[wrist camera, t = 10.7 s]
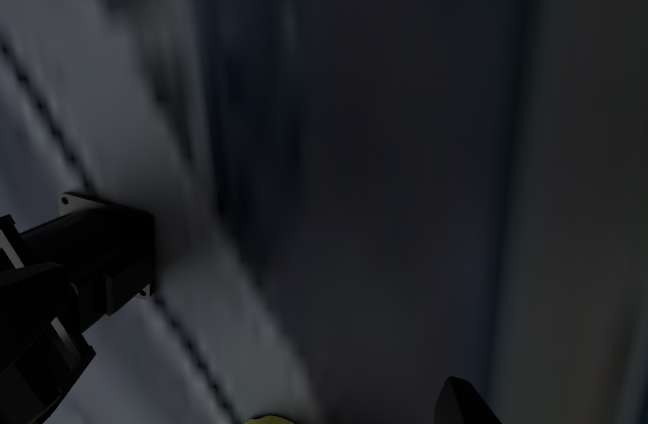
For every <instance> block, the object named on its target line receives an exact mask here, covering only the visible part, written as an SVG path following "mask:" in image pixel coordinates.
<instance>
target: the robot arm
mask: <svg viewBox="0 0 648 424" xmlns="http://www.w3.org/2000/svg"><path fill="white" fill-rule="evenodd" d="M67 199H68V200H67ZM58 204H59V214H60V217H58V218H56V219H53V220H51V221H48V222H46V223H43V224H41V225H39V226H36V227H34V228H31V229H29V230H26V231H24V232H22V233H19V232H18V231H17V229H16V228H15V226H14V224H16V223H15V222H14V220H13V219H12V217H11V215H10V214H8V215H5V216H3V217H0V424H43V423H44V422H45V421H46V420H47V419H48V418H49V417H50V416H51V414H52V413H53V412H54V411H55V410H56V408H57V407H58V406H59V404H60V403H61V401H62V400H63V399H64V397H65V396H66V395H67V393H68V392H69V391H70V389H71V388H72V386H73V385H74V384H75V382H76V381H77V380H78V378H79V377H80V376H81V374H82V373H83V371H84V370H85V369H86V367H87V366H88V365H89V363H90V362H91V361H92V359H93V358H94V356H95V355H96V352H95V351H94V349H93V347H92V346H89V345H88V343H87V341H86V340H85V338H84V337H83V335H82V333H83V332H84V331H86V330H87V329H88V328H89V327H90V326H92V325H93V324H94V323H95V322H97V321H98V320H99V319H100V318H101V317H103V316H104V315H107V316H110V315H112V314H114V313H115V312H116V311H118V310H119V309H120V308H121V307H122V306H124V305H125V304H126V303H127V302H128V301H129V300H131V299H132V298H133V297H137V298H141V299H148V298H149V297H150V296H151V295H152V294H153V280H154V270H155V248H154V218H153V216H152V215H151V214H150V213H147V212H144V211H140V210H136V209H132V208H129V207H125V206H121V205H117V204H113V203H110V202H106V201H102V200H98V199H94V198H91V197H87V196H83V195H79V194H75V193H72V192H65V193H62V194H60V195H59V196H58ZM143 218H144V219H145V220H146V221H147V223H146V222H145V221H144V219H143ZM144 291H145V292H146V293H145V292H144ZM434 424H502V423H501V422H500V421H499V419H498V418H497V417H496V415H495V414H494V413H493V411H492V410H491V409H490V408H489V406H488V405H487V404H486V402H485V401H484V400H483V398H482V397H481V396H480V394H479V393H478V392H477V391H476V389H475V388H474V387H473V385H472V384H471V383H470V382H469V381H467V380H464V379H461V378H457V377H454V376H450V377H448V378H447V379H446V381H445V384H444V386H443V388H442V391H441V393H440V395H439V398H438V400H437V402H436V406H435V413H434Z"/></svg>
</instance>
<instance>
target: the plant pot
mask: <svg viewBox="0 0 648 424" xmlns="http://www.w3.org/2000/svg"><path fill="white" fill-rule="evenodd" d="M244 424H294V423H293V422H291V421H289V420H286V419H284V418H281V417H277V416H265V417H263V418H260V419H249V420H248V421H246V422H245V423H244Z"/></svg>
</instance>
